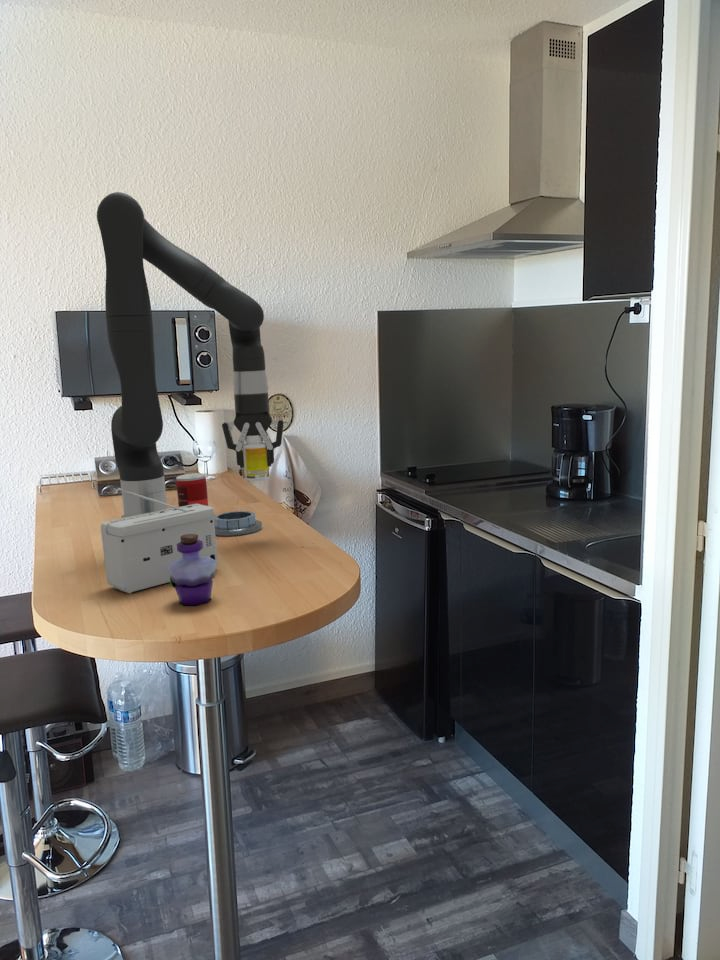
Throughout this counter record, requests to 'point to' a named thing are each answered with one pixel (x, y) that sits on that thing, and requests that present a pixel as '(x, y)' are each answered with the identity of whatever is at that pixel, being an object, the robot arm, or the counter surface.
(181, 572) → the potion bottle
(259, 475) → the supplement bottle
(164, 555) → the stereo radio cassette player
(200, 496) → the canned food
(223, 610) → the counter surface
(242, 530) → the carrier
